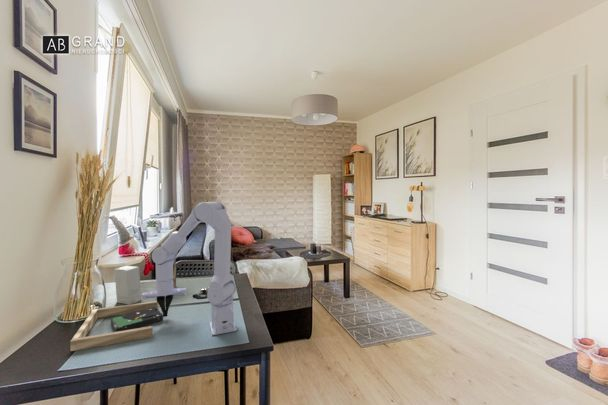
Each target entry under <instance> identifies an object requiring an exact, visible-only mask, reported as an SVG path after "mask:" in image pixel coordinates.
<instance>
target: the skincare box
mask: <svg viewBox="0 0 608 405" xmlns="http://www.w3.org/2000/svg"><path fill="white" fill-rule="evenodd" d="M114 279H115V292H116V303H119V304H124V305H130V304H136V303H138V302H141V301H142V291H141V290H142V288H141V276H140V266H135V265H134V266H133V265H124V266H120V267H117V268H114Z"/></svg>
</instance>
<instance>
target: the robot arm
mask: <svg viewBox="0 0 608 405" xmlns="http://www.w3.org/2000/svg"><path fill="white" fill-rule="evenodd" d="M200 223H205V224H207V225H208V226H209V227H211V228H212V229H213V230H214V247H213V248H214V253H213V254H214V255H213V256H214V258H213V261H214V262H213V264H214V265H213V276H212V278H211V280H210V283H209V287H210V288H209V290H208V292H207V298H206V299H207V300H208V302H209V303H210V306H211V321H210V322H209V328H210V331H211V335H212V336H216V335H222V334H226V333H232V332H236V331H237V327H236V324H235V322H234V321H235V320H234V294H235V293H236V290H237V285H236V283H235V276H234V275H233V274H231V258H232V256H231V255H232V254H231V253H232V252H231V251H232V250H231V249H232V248H231V247H232V245H231V244H232V223H231V220H230V218H229V215H228V213H227V207H226V206H225V205H224V204H223V203H222V202H220V201H216V200H214V201H209V202H208V201H207V202H204V201H201V202H199V203H197V204H196V205H195V207H194V208H193V209H191V213H190V214H189V216H188V217H187V218H186V220H185V221H184V223H183V224H182V225H181V226H180V227H179V229H178V231H173V232H170V233H169V234H168V237H167V239H166V240H165V241H164V242H162V243H161V246H160V247H156V248H154V249H153V251H152V253H151V259H152V261H153V263H155V287H156V288H155V290H152V291H147V292H142V293H141V301H144V300H147V299H148V300H149V299H154V298H156V301H157V303H158V305H159V306H158V307H159V308H160V309H161V311H162V313H161V314H162V315H163V318H165V317H168V314H169V313H168V312H169V309H170V306H171V303H172V302H173V300H174V299H173V298H174V296H178V295H187V287H178V288H177V287H175V288H173V264H174V259H175V258H177V253H178V252H179V251H180V249H181V248H182V247H183V246H185V244H186V243H187V237H188V236H189V234H190V233H191V232H192V231H193V230H194V229H195V228H196V227H197V226H198V225H199V224H200Z"/></svg>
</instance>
